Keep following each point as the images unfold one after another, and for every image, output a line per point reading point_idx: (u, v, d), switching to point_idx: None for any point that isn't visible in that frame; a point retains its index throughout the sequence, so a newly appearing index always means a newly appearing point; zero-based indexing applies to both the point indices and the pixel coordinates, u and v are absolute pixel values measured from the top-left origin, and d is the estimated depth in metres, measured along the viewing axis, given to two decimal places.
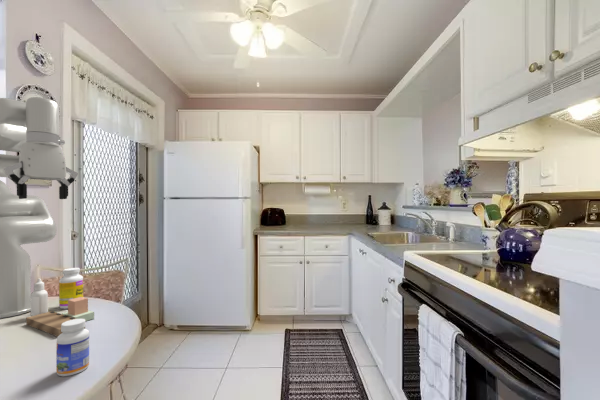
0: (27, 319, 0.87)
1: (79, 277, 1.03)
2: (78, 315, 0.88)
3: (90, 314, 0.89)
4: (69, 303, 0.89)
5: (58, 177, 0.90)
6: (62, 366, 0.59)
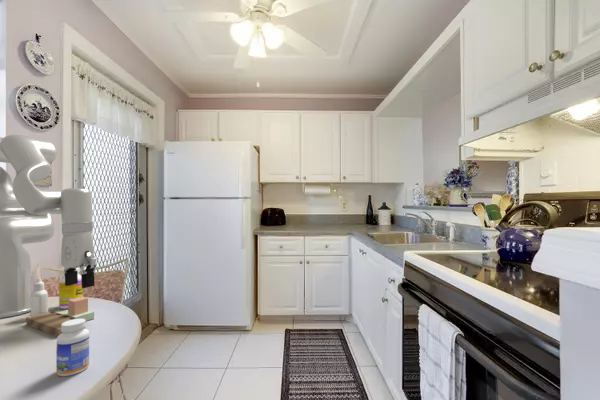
0: (27, 319, 0.87)
1: (79, 277, 1.03)
2: (78, 315, 0.88)
3: (90, 314, 0.89)
4: (69, 303, 0.89)
5: None
6: (62, 366, 0.59)
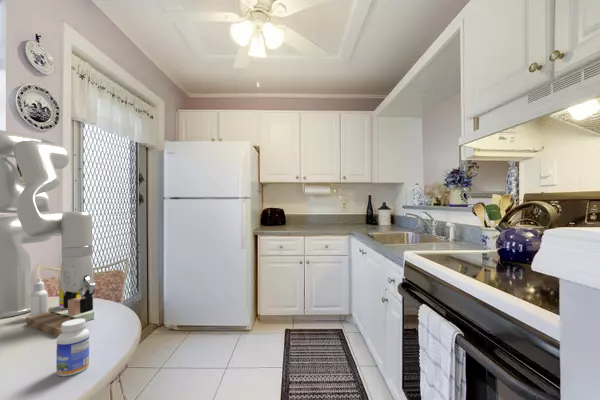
0: (27, 319, 0.87)
1: None
2: (78, 315, 0.88)
3: (90, 314, 0.89)
4: (69, 303, 0.89)
5: None
6: (62, 366, 0.59)
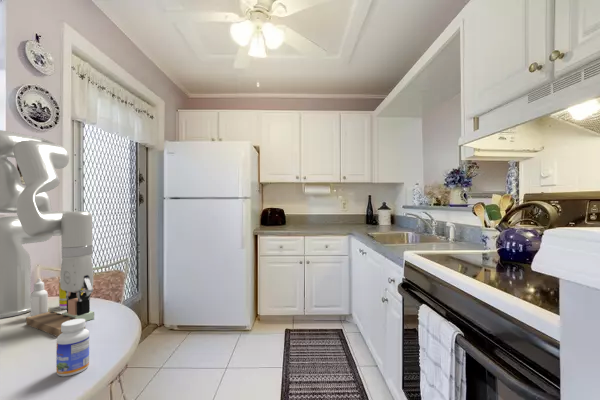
0: (27, 319, 0.87)
1: None
2: None
3: (90, 314, 0.89)
4: (69, 303, 0.89)
5: None
6: (62, 366, 0.59)
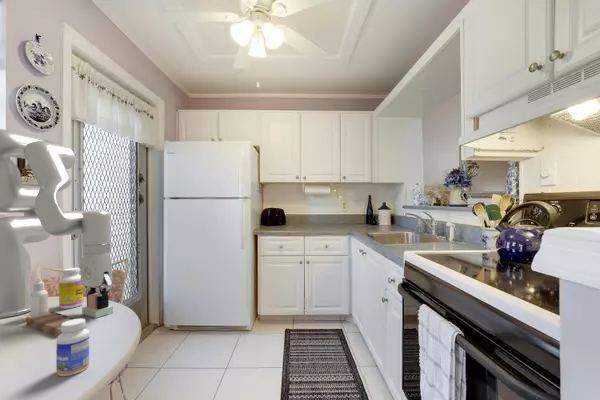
0: (27, 319, 0.87)
1: (79, 277, 1.03)
2: None
3: (109, 308, 0.94)
4: (89, 298, 0.94)
5: None
6: (62, 366, 0.59)
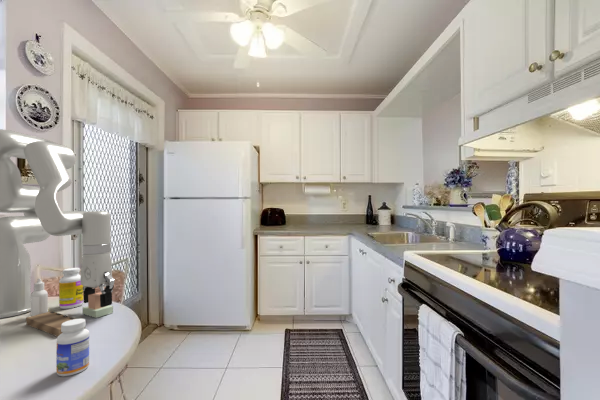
0: (27, 319, 0.87)
1: (79, 277, 1.03)
2: (98, 309, 0.92)
3: (109, 308, 0.94)
4: (89, 298, 0.94)
5: None
6: (62, 366, 0.59)
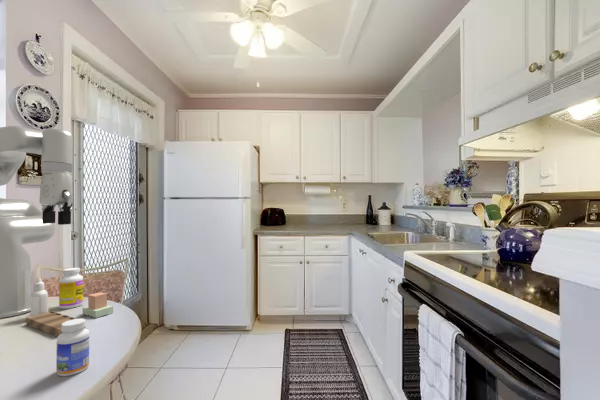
0: (27, 319, 0.87)
1: (79, 277, 1.03)
2: (98, 309, 0.92)
3: (109, 308, 0.94)
4: (89, 298, 0.94)
5: None
6: (62, 366, 0.59)
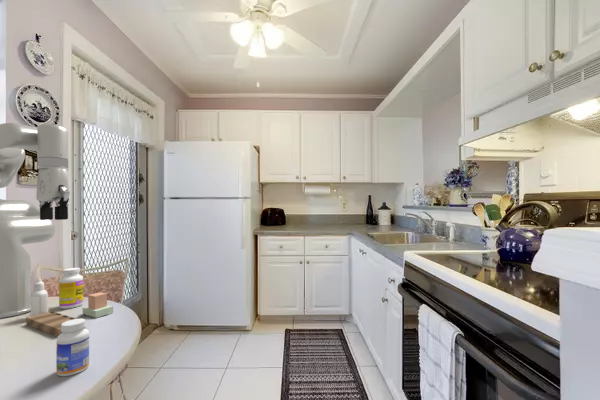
0: (27, 319, 0.87)
1: (79, 277, 1.03)
2: (98, 309, 0.92)
3: (109, 308, 0.94)
4: (89, 298, 0.94)
5: None
6: (62, 366, 0.59)
